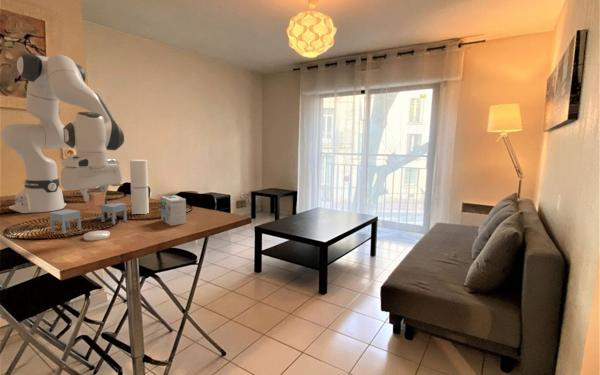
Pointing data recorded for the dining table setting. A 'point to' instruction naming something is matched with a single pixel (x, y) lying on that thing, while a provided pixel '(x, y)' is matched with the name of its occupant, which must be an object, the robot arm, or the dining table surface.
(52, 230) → the cover low
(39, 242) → the dining table surface
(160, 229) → the dining table surface
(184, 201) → the light bulb box
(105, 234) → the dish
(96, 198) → the block
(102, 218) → the cover high
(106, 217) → the balance
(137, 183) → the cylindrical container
